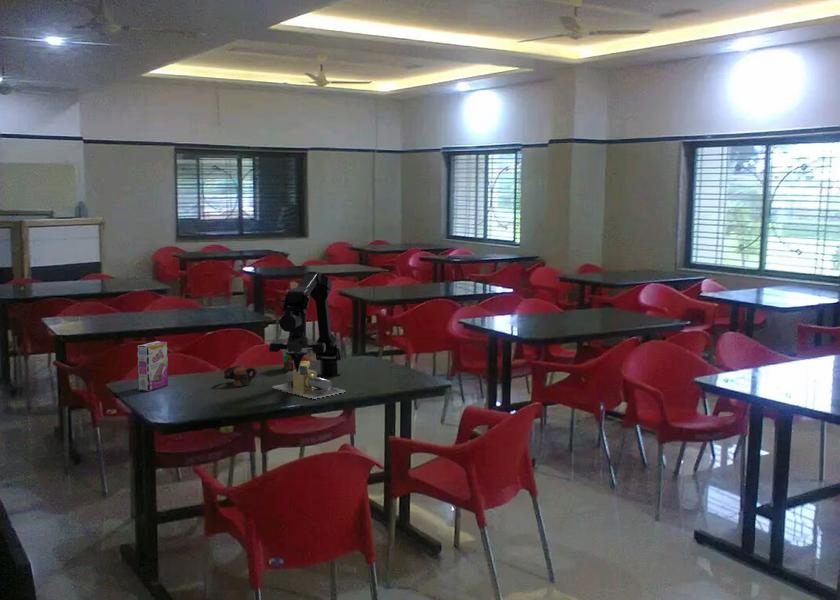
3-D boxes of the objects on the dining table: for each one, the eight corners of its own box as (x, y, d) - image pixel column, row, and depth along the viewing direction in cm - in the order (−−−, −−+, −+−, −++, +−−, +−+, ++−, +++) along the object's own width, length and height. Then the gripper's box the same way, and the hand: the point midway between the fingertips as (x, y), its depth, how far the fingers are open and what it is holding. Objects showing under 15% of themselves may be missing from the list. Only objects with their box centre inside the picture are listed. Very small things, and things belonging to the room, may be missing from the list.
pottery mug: (228, 390, 306) (221, 369, 308) (228, 395, 315) (221, 375, 317) (260, 379, 310) (253, 358, 312) (259, 385, 319) (252, 365, 321)
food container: (286, 365, 346) (285, 341, 345) (301, 365, 346) (300, 341, 344) (277, 371, 334) (276, 346, 333) (292, 372, 333) (291, 347, 332)
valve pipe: (272, 388, 306) (271, 366, 305) (303, 382, 316) (302, 360, 315) (314, 399, 290) (313, 376, 289) (345, 392, 300) (345, 370, 299)
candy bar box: (149, 392, 302) (147, 346, 300) (138, 390, 304) (136, 345, 301) (169, 385, 312) (167, 341, 310) (158, 384, 314) (156, 340, 312)
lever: (299, 366, 305) (299, 358, 304) (309, 366, 305) (309, 358, 305) (298, 375, 290) (298, 367, 290) (309, 375, 291) (308, 367, 290)
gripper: (266, 330, 283) (266, 376, 285) (322, 331, 283) (321, 377, 285) (272, 324, 294) (272, 369, 296) (326, 326, 294) (325, 370, 296)
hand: (297, 371), depth 293 cm, fingers closed
